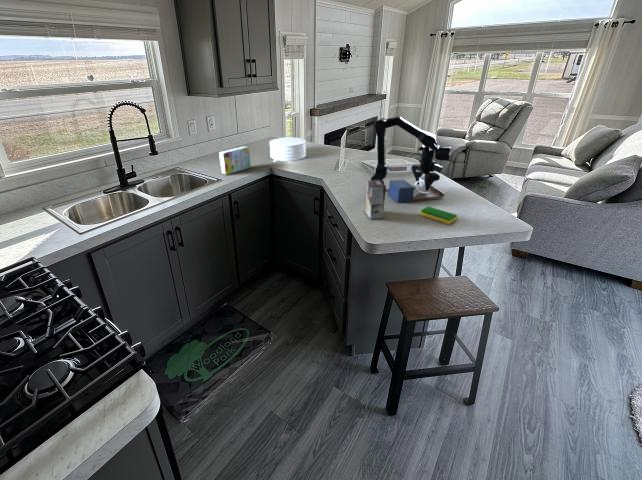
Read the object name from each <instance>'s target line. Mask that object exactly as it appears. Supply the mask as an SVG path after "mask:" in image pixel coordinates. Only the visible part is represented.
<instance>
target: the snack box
mask: <svg viewBox="0 0 642 480" xmlns="http://www.w3.org/2000/svg"><path fill="white" fill-rule="evenodd" d="M218 156H219V163H220V169H221V170H220V171H221V174H222V175H225V176H227V175H230V174H234V173H236V172H237V173H238V172H240V171H244V170H247V169H251V168H252V167H251V156H250V147H249V146H246V145H244V146H243V145H242V146H240V147H235V148H231V149H227V150H223V151H219V152H218Z"/></svg>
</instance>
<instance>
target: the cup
mask: <svg viewBox="0 0 642 480" xmlns="http://www.w3.org/2000/svg"><path fill="white" fill-rule="evenodd" d="M424 179H425V175H424V176H423V175H422V177H419V181H417V182H416V181H415V183H414V186H413V187H414V190H415V191H416V189H417V183H418V182H419V185H418V186H419V188H420V192H418V191H416V192H418V193H422V194H428V193H429V192H428V191H429V190H430V189H429V190H428V191H426V188H425V182H424ZM430 188H431V187H430Z"/></svg>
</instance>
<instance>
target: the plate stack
mask: <svg viewBox="0 0 642 480" xmlns="http://www.w3.org/2000/svg"><path fill="white" fill-rule="evenodd" d="M306 143H307V141H306V139H304V138H301V137H292V136H291V137H288V136H287V137H278V138H274V139H271V140H270V141H269V154H270V155H269V156H270V159H273V160H275V161H281V162H289V161H290V162H291V161H299V160H302V159H304V158H306V156H307V150H306V149H307V144H306Z"/></svg>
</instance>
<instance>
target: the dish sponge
mask: <svg viewBox="0 0 642 480" xmlns="http://www.w3.org/2000/svg"><path fill="white" fill-rule="evenodd" d="M419 216H423V217H426V218H429V219H432V220H435V221H437V222H441V223H443V224H447V225H450V224H452V223H453V222H455V221H456V220H457V217H458V215H457V214H455V213H451V212H448V211H445V210H442V209H439V208H435V207H432V206H429V205H428V206H426V207H424V208H422V209H421V210H420V215H419Z"/></svg>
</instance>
